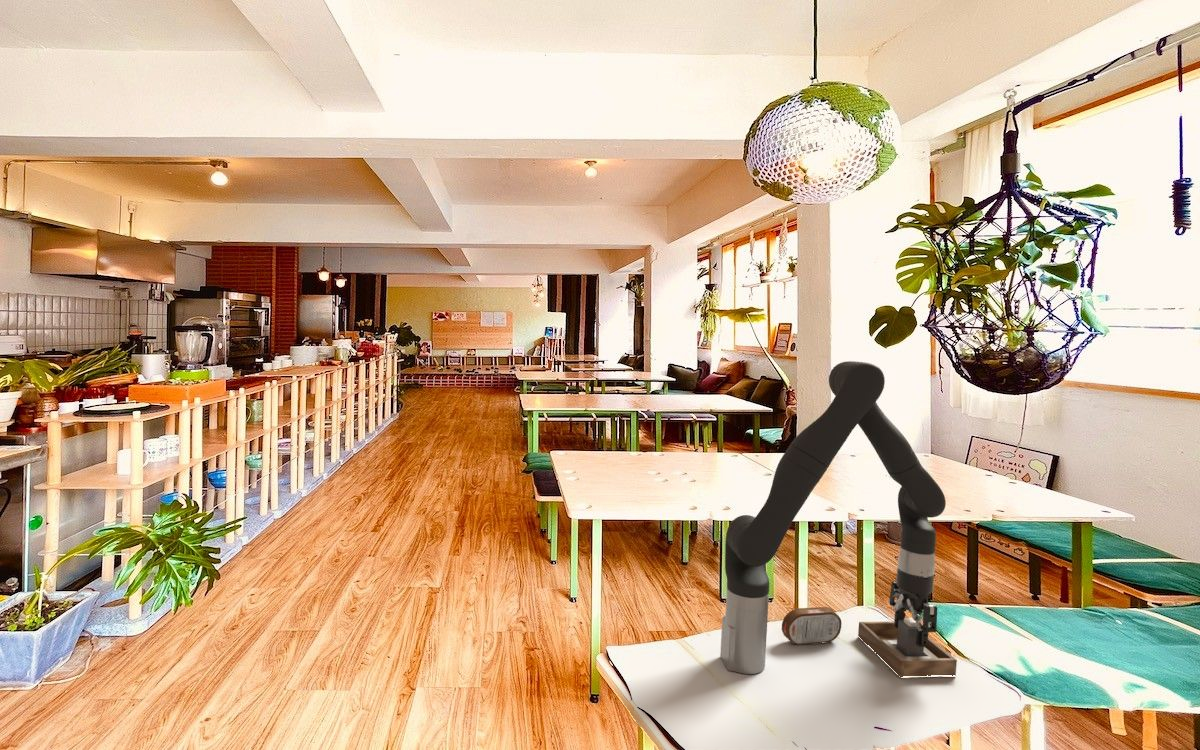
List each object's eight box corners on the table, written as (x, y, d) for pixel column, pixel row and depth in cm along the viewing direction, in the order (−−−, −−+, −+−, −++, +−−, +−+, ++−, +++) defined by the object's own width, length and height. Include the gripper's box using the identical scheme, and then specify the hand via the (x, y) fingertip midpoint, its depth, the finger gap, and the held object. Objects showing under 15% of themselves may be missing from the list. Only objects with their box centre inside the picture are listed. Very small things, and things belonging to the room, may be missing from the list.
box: (900, 678, 134) (901, 660, 133) (857, 637, 152) (859, 621, 151) (955, 677, 135) (956, 660, 135) (907, 636, 153) (908, 621, 152)
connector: (906, 662, 139) (908, 624, 138) (896, 653, 143) (898, 616, 142) (922, 662, 139) (925, 624, 139) (912, 653, 143) (915, 616, 143)
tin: (835, 637, 151) (837, 604, 151) (842, 643, 148) (844, 610, 148) (779, 641, 148) (781, 608, 148) (786, 648, 145) (788, 614, 145)
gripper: (882, 556, 146) (877, 622, 147) (919, 581, 132) (913, 653, 133) (912, 557, 147) (907, 622, 148) (951, 581, 133) (945, 652, 134)
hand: (909, 636), depth 141 cm, fingers open, 8 cm apart
